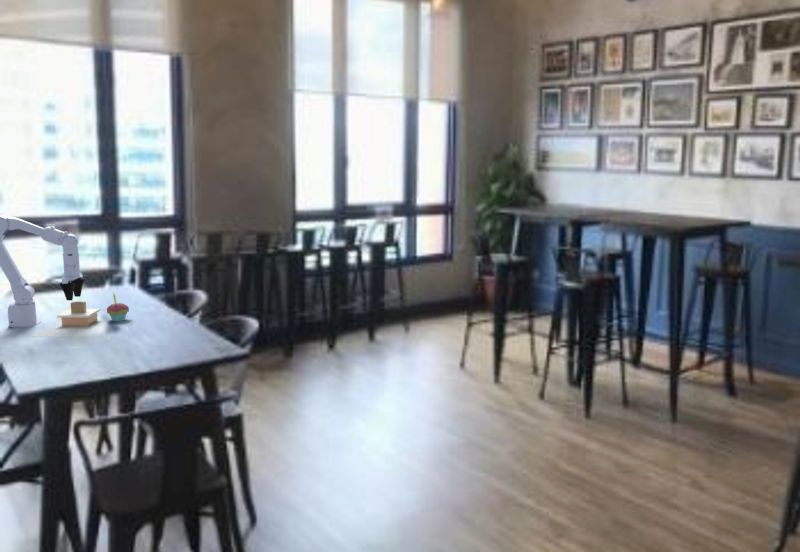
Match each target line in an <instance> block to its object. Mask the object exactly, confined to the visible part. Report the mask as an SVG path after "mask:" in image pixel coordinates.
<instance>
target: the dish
mask: <svg viewBox="0 0 800 552" xmlns="http://www.w3.org/2000/svg"><path fill="white" fill-rule="evenodd" d="M97 321H98V312H97V313H95V314H94V315H92V316H90V317H89V318H61V326H62V327H89V326H90V325H92V324H94V323H96V322H97Z"/></svg>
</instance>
